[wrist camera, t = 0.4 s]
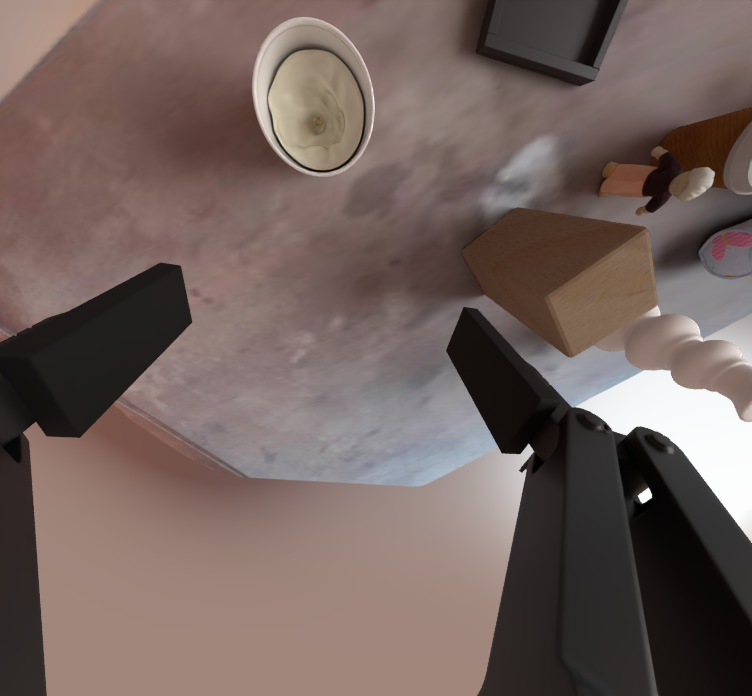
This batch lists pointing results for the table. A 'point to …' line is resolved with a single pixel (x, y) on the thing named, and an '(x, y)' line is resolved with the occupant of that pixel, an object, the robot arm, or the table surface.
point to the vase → (685, 356)
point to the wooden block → (565, 274)
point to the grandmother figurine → (655, 181)
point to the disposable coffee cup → (716, 149)
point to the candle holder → (313, 96)
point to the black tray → (551, 35)
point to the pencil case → (729, 252)
